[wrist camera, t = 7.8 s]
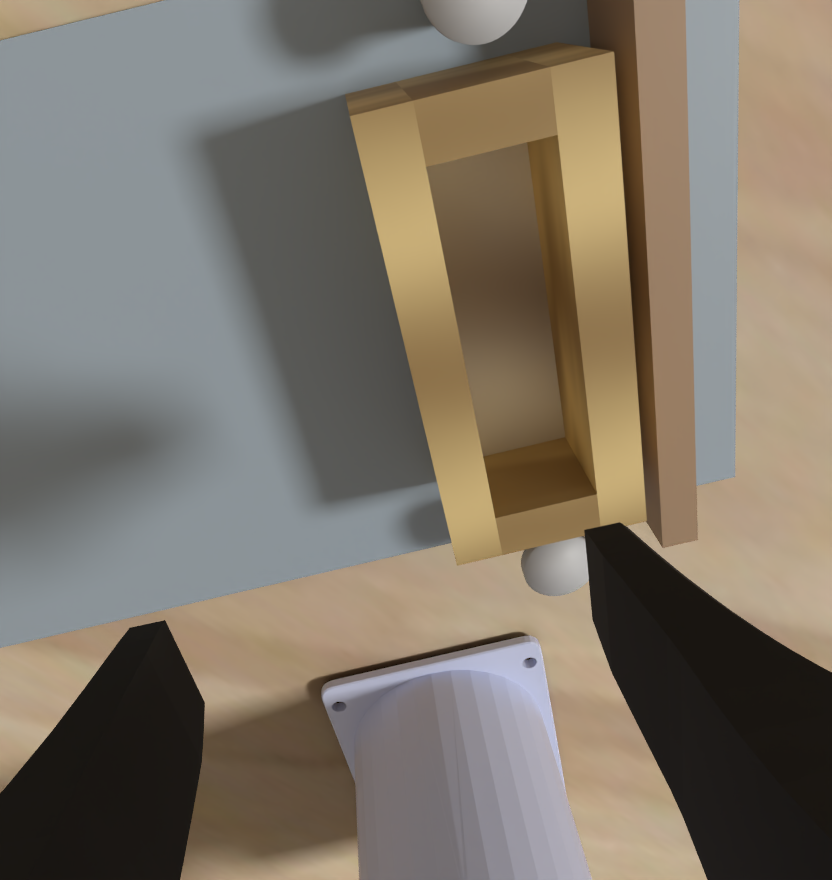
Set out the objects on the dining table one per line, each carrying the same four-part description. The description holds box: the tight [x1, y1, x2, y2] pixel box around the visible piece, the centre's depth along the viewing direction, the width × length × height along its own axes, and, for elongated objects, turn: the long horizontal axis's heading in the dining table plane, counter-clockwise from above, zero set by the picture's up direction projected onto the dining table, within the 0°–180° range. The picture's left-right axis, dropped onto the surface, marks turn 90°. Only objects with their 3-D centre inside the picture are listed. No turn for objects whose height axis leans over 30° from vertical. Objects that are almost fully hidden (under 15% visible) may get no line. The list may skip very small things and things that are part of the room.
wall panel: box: [0, 0, 739, 648], centre depth 19 cm, size 16×26×4 cm, turn 102°
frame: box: [345, 42, 647, 566], centre depth 19 cm, size 11×5×4 cm, turn 12°
